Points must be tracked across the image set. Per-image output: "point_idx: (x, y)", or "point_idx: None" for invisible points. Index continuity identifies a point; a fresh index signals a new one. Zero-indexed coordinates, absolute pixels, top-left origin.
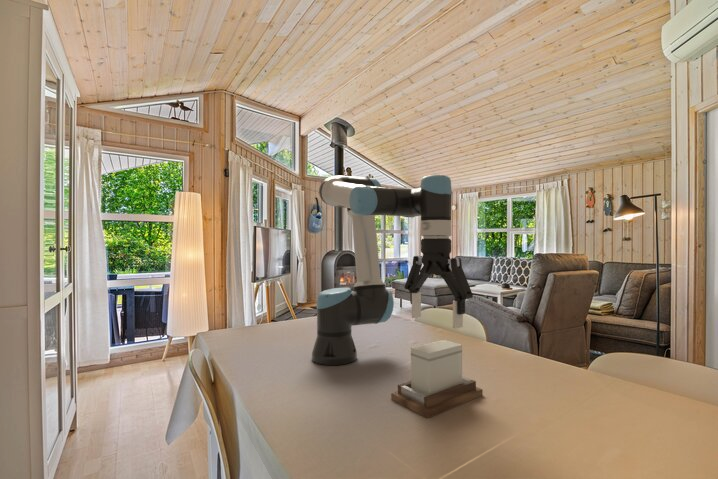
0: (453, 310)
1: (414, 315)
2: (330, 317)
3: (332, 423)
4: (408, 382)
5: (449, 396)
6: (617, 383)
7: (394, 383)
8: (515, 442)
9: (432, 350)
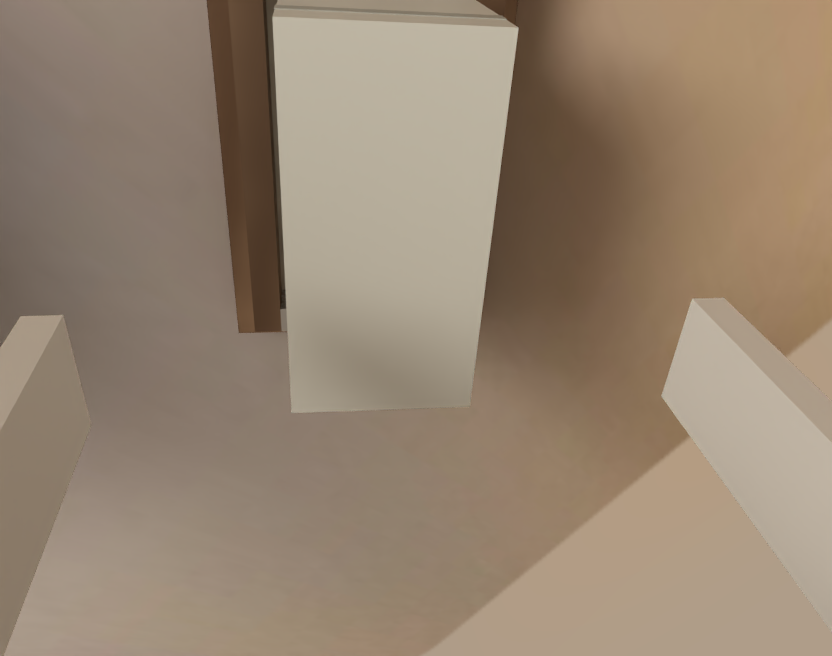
0: (770, 532)
1: (78, 434)
2: None
3: (280, 546)
4: (258, 268)
5: None
6: None
7: (52, 166)
8: (795, 191)
9: (444, 350)
